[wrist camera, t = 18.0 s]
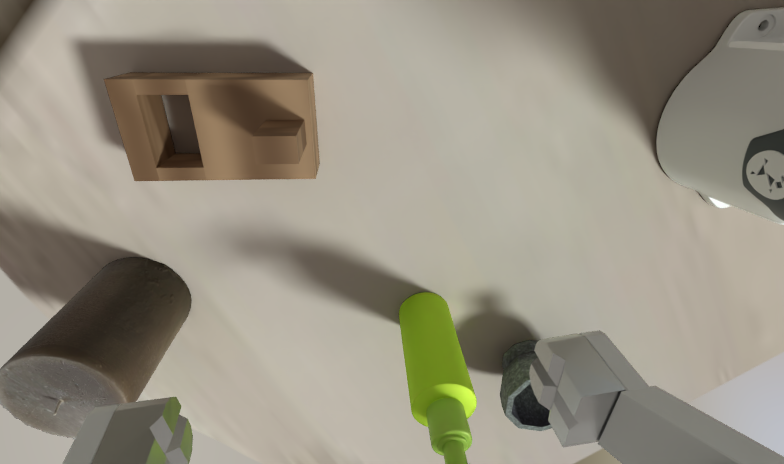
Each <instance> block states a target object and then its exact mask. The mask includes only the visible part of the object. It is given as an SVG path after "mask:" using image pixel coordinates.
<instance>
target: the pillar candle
mask: <svg viewBox="0 0 784 464" xmlns="http://www.w3.org/2000/svg"><path fill="white" fill-rule="evenodd" d="M190 308H191V294H190V292H189V289H188V287H187V285H186V284H185V282H184V281H183V280H182V278H181V277H179V276H178V275H177V274H176V273H175V272H174V271H173V270H171V269H170V268H169V267H167V266H166V265H163V264H161V263H158V262H155V261H152V260H149V259H144V258H123V259H119V260H116V261H113V262H111V263H109V264H108V265H106V266H105V267H104V268H103V269H102V270H101V271H100V272H99V273H98V274H97V275H96V276H95V277H94V278H93V279H92V280H90V281H89V282H88V283H87V284H86V285H85V286H84V287H83V288H82V289H81V290H80V291H79V292H78V293H77V294H76V295H75V296H74V297H73V298H72V299H71V300H70V301H69V302H68V303H67V304H66V305H65V306H64V307H63V308H62V309H61V310H60V311H59V312H58V313H57V314H56V315H55V316H54V317H52V318H51V319H50V320H49V321H48V322H47V323H46V324H45V326H43V328H41V329H40V330H39V331H38V332H37V333H36V334H35V335H34V336H33V337H32V338H31V339H30V340H29V341H28V342H27V343H26V344H25V345H24V346H23V347H22V348H21V349H20V350H19V351H18V352H17V353H16V354H15V355H14V356H13V357H12V358H11V359H10V360H9V361H8V362H7V363H6V364H4V365H3V366H2V367H1V369H0V405H2V406H3V408H5V409H7V410H8V411H9V412H10V413H11V414H12V415H13V416H14V417H15V418H16V419H19V420H21V421H22V422H23V423H24V424H26V425H28V426H31V427H33V428H36V429H39V430H42V431H43V432H46V433H49V434H53V435H57V436H63V437H67V438H73V439H75V438H76V436H77V434H78V432H79V430H80V428H81V426H82V424H83V422H84V420H85V418H86V416H87V415H88V414H89V413H90V412H91V411H92V410H93V409H94V408H95V407H102V406H109V405H116V404H123V403H131V402H136V401H137V399H138V398H139V396H140V394H141V393H142V391H143V389H144V388H145V386H146V384H147V383H148V381H149V379H150V378H151V376H152V374H153V373H154V371H155V370H156V368H157V366H158V364H159V362H160V361H161V359H162V358H163V356H164V354H165V352H166V351H167V349H168V348H169V346H170V344H171V343H172V341H173V339H174V338H175V336H176V334H177V333H178V331H179V330H180V328H181V326H182V325H183V323H184V322H185V320H186V318H187V317H188V314H189V311H190Z"/></svg>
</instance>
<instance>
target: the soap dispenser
mask: <svg viewBox="0 0 784 464" xmlns="http://www.w3.org/2000/svg"><path fill="white" fill-rule="evenodd" d="M399 320H400V328H401V335H402V343H403V350H404V358H405V365H406V373H407V381H408V388H409V396H410V403H411V411H412V414H413V417H414V418H415V419H416V420H417V421H418V422H419V423H421V424H422V425H424V426H427V427H428V428H429V433H430V439H431V445H432V448H433V450H434V451H435V452H436V453H438V454H440V455H443V456H444V459H445V464H468V463H467V459H466V455H465V451H466V450H467V449H468V448H469V447H470V446H471V444H472V436H471V432H470V428H469V425H468V421H467V419H468V418H469V417H470V416H471V415H472V414H473V412H474V410H475V408H476V404H477V401H476V396H475V393H474V390H473V387H472V383H471V380H470V377H469V373H468V370H467V367H466V364H465V360H464V357H463V354H462V351H461V347H460V344H459V341H458V337H457V334H456V331H455V328H454V324H453V321H452V318H451V314H450V311H449V308H448V305H447V303H446V301H445V300H444V299H443V298H442V297H441V296H439V295H437V294H434V293H428V292H424V293H418V294H415V295H412V296H411V297H409V298H407V299H406V300H405V301H404V302H403V304H402V305H401V307H400V310H399Z"/></svg>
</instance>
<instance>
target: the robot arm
mask: <svg viewBox="0 0 784 464" xmlns="http://www.w3.org/2000/svg"><path fill="white" fill-rule="evenodd" d="M760 23H761V27H760V28H759V29H758V27H759V24H760ZM656 146H657V155H658V159H659V162H660V164H661V167H662V168H663V170H664V172H665V173H666V174H667V175H668V176H669V177H670V178H671V179H672V180H673V181H675V182H676V183H678V184H680V185H682V186H685V187H688V188H691V189H693V190H696V191H697V192H699V193H700V195H701V196H702V197H703V198H704V200H705V201H706V202H707V203H708V204H710V205H712V206H714V207H717V208H727V207H729V206H733V207H736V208H738V209H741V210H743V211H746V212H748V213H751V214H754V215H756V216H759V217H761V218H764V219H767V220H769V221H772V222H775V223H777V224H782V225H784V7H781V8H768V9H755V10H747V11H744V12H742V13H740V14H739V15H737V16H736V17H735V18H734V19H733V21H732V22H731V23H730V24H729V26H728V27H727V29H726V30H725V32H724V33H723V35H722V37H721V38H720V40H719V42H718V43H717V45H716V47H715V48H714V49H713V50H712V51H711V52H710V53H709V54H708V55H707V56H706V57H705V58H704V59H703V60H702V61H701V62H700V63H698V64H697V65H696V66H695V67H694V68H693V69H692V70H691V71H690V72H689V73H688V74H687V75H686V76H685V78H684V79H683V80H682V81H681V82H680V84H679V85H678V86H677V88H676V89H675V91H674V92H673V94H672V95H671V97H670V99H669V101H668V103H667V105H666V107H665V109H664V111H663V114H662V116H661V119H660V123H659V126H658V131H657V140H656ZM534 351H535V353H536V355H537V356H538V357H537V358H536V359H535V360H534V361H533V362H532V363H531V366H530V372H529V375H530V382H531V386H532V389H533V392H534V394H535V396H536V398H537V400H538V402H539V403H540V404H541V405H543V406H544V407H546V408H547V409H548V410H550V412H549V418H548V421H549V423H550V424H551V426H552V428H553V430H554V432H555V434H556V435H557V437H558V439H559V441H560V443H561V445H562V446H563V447H568V446H574V445H580V444H587V443H593V442H598V444H599V445H600V446H601V447H603V448H604V449H605V450H606V451H607V452H609V453H610V454H611V455H612V456H614V457H615V458H616V459H617V460H618V461H620V462H621V463H622V464H784V457H783V456H781V455H779V454H777V453H776V452H774V451H772V450H770V449H769V448H767V447H765V446H763V445H761V444H760V443H758V442H756V441H754V440H752V439H750V438H749V437H747V436H745V435H743V434H741V433H740V432H738V431H736V430H734V429H732V428H731V427H729V426H727V425H725V424H723V423H722V422H720V421H718V420H716V419H714V418H712V417H711V416H709V415H707V414H705V413H704V412H702V411H700V410H698V409H696V408H695V407H693V406H691V405H689V404H687V403H686V402H684V401H682V400H680V399H678V398H676V397H675V396H673V395H671V394H669V393H667V392H666V391H664V390H662V389H660V388H658V387H657V386H650V387H649V386H648V385H647V383H646V382H645V381H644V380H643V379H642V377H641V376H640V375H639V374H638V373H637V371H636V370H635V369H634V368H633V367H632V365H631V364H630V363H629V362H628V361H627V359H626V358H625V357H624V356H623V355H622V353H621V352H620V351H619V350H618V349H617V347H616V346H615V345H614V344H613V343H612V341H611V340H610V339H609V338H608V337H607V335H606V334H605V333H603V332H601V331H600V330H599V331H592V332H586V333H580V334H577V333H576V334H570V335H564V336H558V337H553V338H547V339H541V340H539V341H538V342H537V343H536V346H535V350H534ZM180 409H181V405H180V403H179V401H178V399H177V398H176V397H170V398H162V399H154V400H146V401H138V402H131V403H123V404H116V405H109V406H102V407H95V408H94V409H93V410H92V411H91V412H90V413H89V414H88V415H87V416H86V418H85V420H84V422H83V424H82V426H81V428H80V430H79V432H78V434H77V436H76V438H75V440H74V442H73V444H72V446H71V448H70V450H69V452H68V454H67V456H66V458H65V460H64V462H63V464H189V461H190V457H191V452H192V438H193V435H192V430H191V425H190V423H189V421H188V419H187V418H185V417H183V416H181V415H179V413H180Z"/></svg>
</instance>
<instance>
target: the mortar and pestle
mask: <svg viewBox="0 0 784 464" xmlns="http://www.w3.org/2000/svg"><path fill="white" fill-rule="evenodd" d="M536 343H537V342H535V341H530V340H528V341H525V342H522V343H518V344H515V345H513V346H512V347H511V348H510V349H509V350H508V351H507V352H506V353H505V354H504V355H503V363H502V367H503V369H504V372H503V377H502V384H501V391H500V398H501V403H502V407H503V410H504V413H505V416H506V417H507V418H509V419H510V420H511V421H512V422H513V423H514V424H515V425H516V426H517V427H518V428H521V429H529V430H536V431H543V430H547V429H550V428H552V426H551V424H550V423H549V421H548V418H549V412H550V410H548V409H547V408H546V407H544V406H543V405H541V404H540V403H539V402H538V400H537V398H536V396H535V394H534V392H533V389H532V386H531V382H530V375H529V372H530V366H531V363H532V362H533V361H534V360H535V359H536V358H537V357H538V356H537V355H536V353H535V351H534V350H535V346H536Z"/></svg>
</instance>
